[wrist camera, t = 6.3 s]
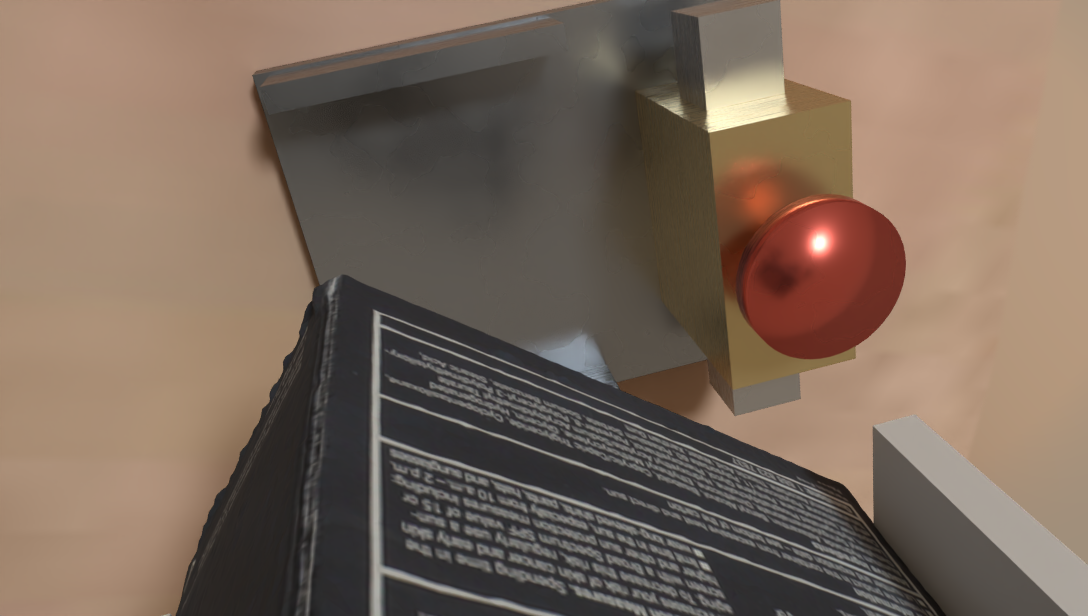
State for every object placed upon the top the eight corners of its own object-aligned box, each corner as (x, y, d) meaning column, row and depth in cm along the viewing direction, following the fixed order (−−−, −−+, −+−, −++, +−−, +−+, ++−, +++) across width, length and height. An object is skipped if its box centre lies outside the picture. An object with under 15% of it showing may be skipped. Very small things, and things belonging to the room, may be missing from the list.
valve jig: (371, 430, 33) (369, 623, 23) (256, 70, 27) (192, 137, 17) (759, 332, 34) (903, 477, 25) (733, -29, 28) (908, -16, 19)
